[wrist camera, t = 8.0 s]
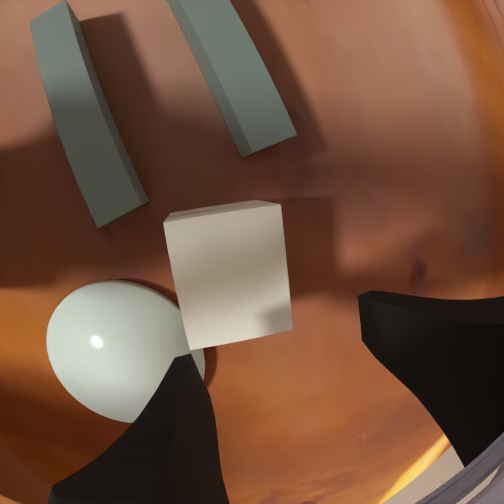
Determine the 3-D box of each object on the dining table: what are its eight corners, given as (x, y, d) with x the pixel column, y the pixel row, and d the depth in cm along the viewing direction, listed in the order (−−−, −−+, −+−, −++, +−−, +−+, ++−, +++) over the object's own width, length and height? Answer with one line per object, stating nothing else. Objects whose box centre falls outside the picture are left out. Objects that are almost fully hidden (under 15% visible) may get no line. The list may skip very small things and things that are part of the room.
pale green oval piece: (198, 422, 20) (199, 428, 19) (62, 403, 17) (60, 409, 17) (212, 289, 18) (214, 294, 17) (45, 268, 15) (39, 272, 15)
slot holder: (279, 142, 17) (297, 134, 14) (112, 221, 16) (97, 228, 13) (194, -25, 13) (197, -51, 10) (46, 39, 12) (29, 21, 9)
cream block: (266, 294, 19) (292, 329, 14) (188, 309, 18) (190, 350, 13) (255, 199, 18) (280, 204, 13) (170, 212, 17) (163, 222, 12)
